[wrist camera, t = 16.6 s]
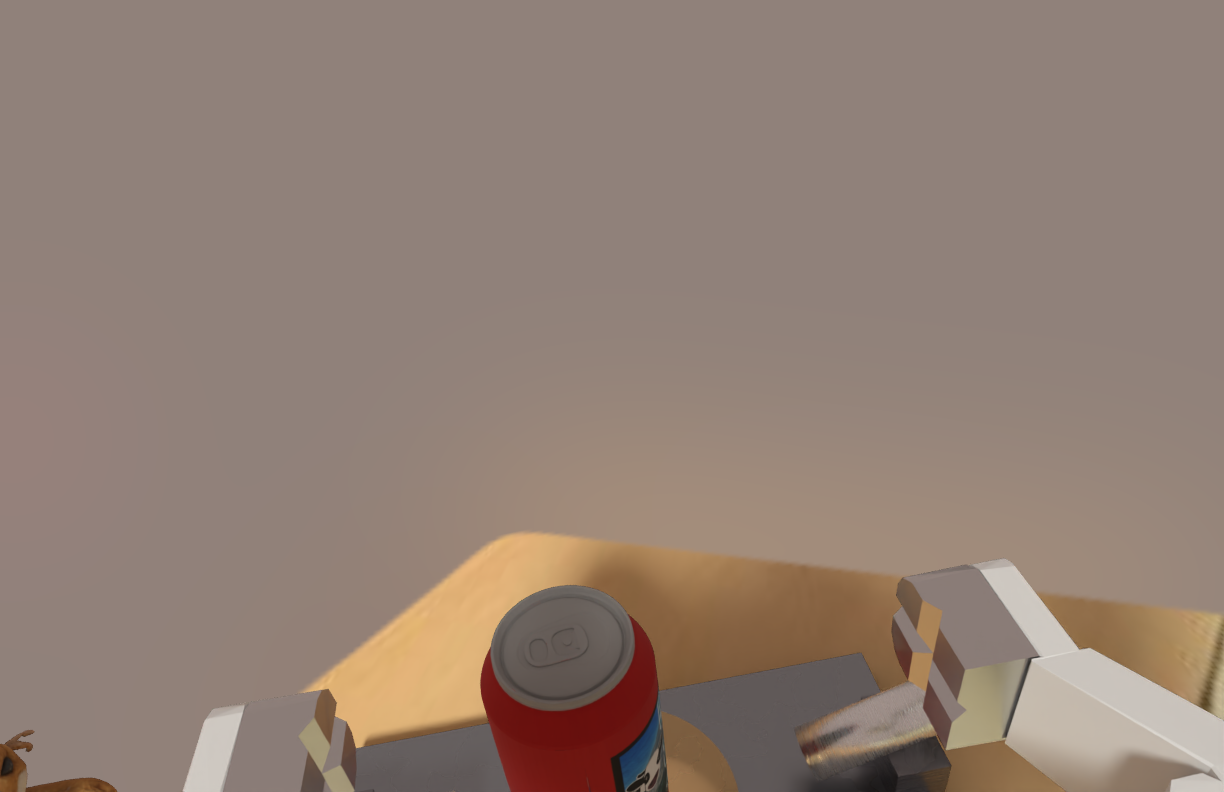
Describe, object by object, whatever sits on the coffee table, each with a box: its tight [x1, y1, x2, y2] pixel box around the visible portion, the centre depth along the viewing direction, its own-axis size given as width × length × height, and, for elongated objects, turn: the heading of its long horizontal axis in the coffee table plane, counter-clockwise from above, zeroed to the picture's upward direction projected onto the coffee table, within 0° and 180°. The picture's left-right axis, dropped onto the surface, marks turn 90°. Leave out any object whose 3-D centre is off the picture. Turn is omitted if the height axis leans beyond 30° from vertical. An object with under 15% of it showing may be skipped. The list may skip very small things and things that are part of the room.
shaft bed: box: [354, 653, 951, 792], centre depth 35 cm, size 30×12×7 cm, turn 99°
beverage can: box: [481, 585, 669, 792], centre depth 33 cm, size 7×7×12 cm
